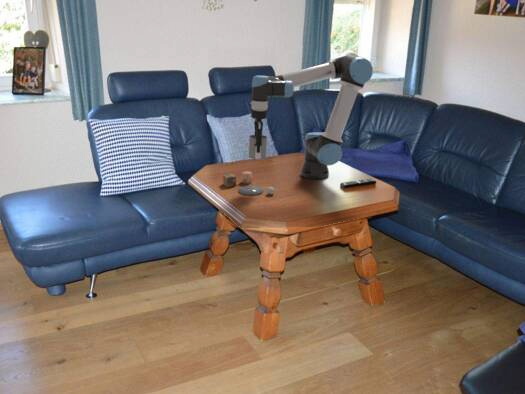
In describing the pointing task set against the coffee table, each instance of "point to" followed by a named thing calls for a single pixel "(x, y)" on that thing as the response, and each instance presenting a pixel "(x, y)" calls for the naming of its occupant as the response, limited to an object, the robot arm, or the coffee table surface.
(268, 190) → the grey ball
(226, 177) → the walnut block
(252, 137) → the cup
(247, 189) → the coaster
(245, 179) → the peach capsule shape
